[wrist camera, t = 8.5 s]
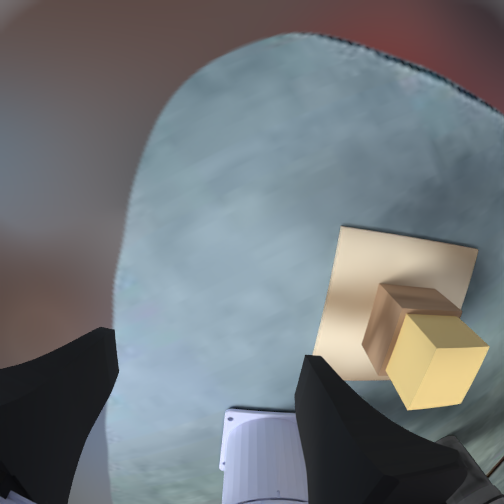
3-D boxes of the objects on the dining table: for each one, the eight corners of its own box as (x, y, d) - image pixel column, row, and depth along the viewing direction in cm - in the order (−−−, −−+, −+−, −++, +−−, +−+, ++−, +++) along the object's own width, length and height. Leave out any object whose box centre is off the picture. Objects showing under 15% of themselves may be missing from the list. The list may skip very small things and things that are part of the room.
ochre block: (435, 368, 19) (460, 403, 15) (385, 370, 18) (407, 410, 15) (456, 316, 17) (489, 346, 14) (406, 313, 17) (436, 348, 13)
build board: (431, 375, 24) (432, 377, 24) (306, 376, 24) (307, 379, 23) (475, 248, 21) (478, 249, 20) (340, 225, 20) (342, 227, 20)
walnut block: (415, 345, 23) (437, 373, 19) (361, 344, 22) (378, 376, 19) (435, 288, 21) (462, 311, 17) (379, 283, 21) (402, 308, 17)
